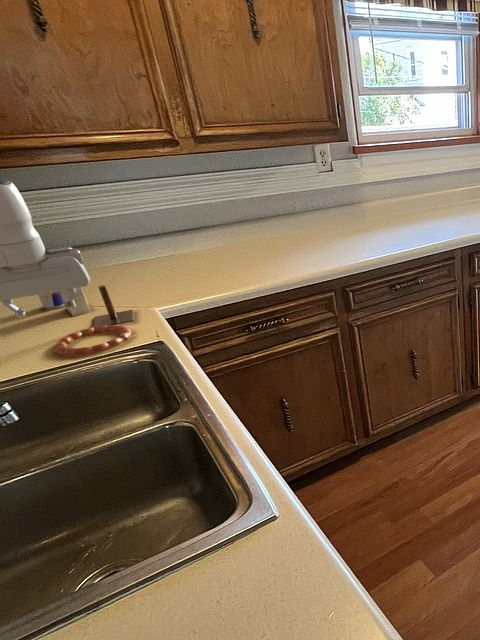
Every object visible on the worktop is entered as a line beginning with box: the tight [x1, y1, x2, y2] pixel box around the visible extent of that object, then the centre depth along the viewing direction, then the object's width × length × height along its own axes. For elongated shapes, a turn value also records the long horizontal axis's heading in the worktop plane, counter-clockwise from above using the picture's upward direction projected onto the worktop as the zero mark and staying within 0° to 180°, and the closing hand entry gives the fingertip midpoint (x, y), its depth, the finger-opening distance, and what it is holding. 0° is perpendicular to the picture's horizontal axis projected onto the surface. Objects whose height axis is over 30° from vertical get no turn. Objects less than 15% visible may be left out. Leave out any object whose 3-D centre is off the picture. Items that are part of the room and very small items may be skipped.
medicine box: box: [59, 287, 92, 317], centre depth 146 cm, size 8×4×9 cm, turn 47°
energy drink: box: [37, 291, 65, 311], centre depth 148 cm, size 5×5×12 cm
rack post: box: [93, 284, 135, 327], centre depth 137 cm, size 9×9×10 cm
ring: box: [53, 324, 133, 357], centre depth 127 cm, size 16×16×2 cm
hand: (47, 311), depth 120 cm, fingers open, 8 cm apart
